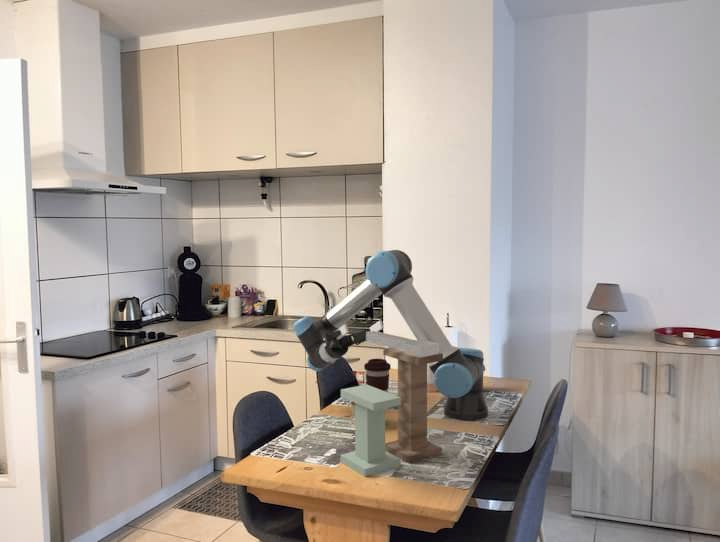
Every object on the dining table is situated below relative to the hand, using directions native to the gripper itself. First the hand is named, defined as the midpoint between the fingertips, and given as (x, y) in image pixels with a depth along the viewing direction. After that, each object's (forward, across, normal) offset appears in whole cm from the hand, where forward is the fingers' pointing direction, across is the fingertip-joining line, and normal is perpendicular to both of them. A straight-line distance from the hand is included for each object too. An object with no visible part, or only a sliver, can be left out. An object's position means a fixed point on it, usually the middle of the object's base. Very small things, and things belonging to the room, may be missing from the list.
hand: (364, 326), depth 194 cm
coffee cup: (-38, -23, -18) cm, 48 cm away
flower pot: (-21, -4, -28) cm, 35 cm away
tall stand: (+4, 0, -41) cm, 42 cm away
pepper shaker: (-37, -48, -18) cm, 63 cm away
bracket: (+14, +1, -12) cm, 19 cm away
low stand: (+4, +15, -41) cm, 44 cm away
